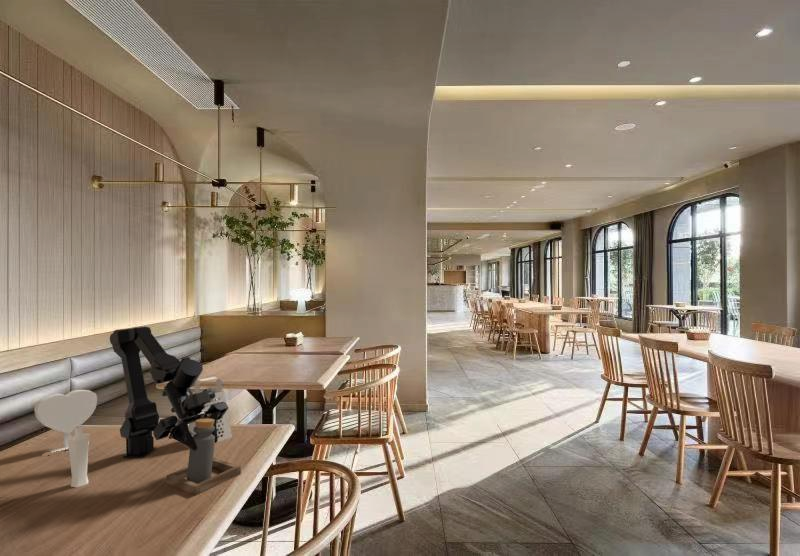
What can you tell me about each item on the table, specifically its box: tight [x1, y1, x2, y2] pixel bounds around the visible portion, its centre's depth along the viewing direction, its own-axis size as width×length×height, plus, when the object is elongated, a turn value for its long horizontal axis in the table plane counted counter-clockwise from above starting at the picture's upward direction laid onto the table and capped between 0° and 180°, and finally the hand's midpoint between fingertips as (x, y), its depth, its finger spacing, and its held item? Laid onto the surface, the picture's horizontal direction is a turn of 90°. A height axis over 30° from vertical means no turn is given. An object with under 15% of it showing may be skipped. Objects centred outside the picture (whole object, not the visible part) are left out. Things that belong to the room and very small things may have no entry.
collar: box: [166, 457, 242, 496], centre depth 110 cm, size 13×13×2 cm
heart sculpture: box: [33, 389, 98, 453], centre depth 134 cm, size 16×5×18 cm, turn 143°
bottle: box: [186, 419, 216, 484], centre depth 110 cm, size 6×6×15 cm
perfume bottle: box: [68, 424, 90, 489], centre depth 109 cm, size 5×4×15 cm
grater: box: [188, 376, 233, 443], centre depth 140 cm, size 10×10×20 cm
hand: (206, 445), depth 110 cm, fingers closed on bottle, 5 cm apart
